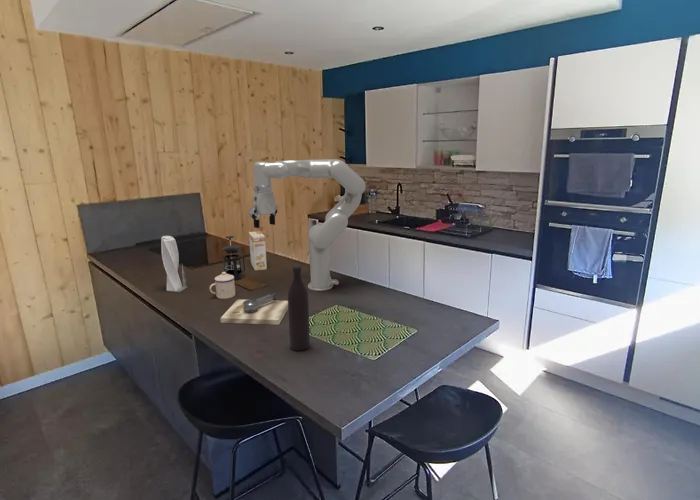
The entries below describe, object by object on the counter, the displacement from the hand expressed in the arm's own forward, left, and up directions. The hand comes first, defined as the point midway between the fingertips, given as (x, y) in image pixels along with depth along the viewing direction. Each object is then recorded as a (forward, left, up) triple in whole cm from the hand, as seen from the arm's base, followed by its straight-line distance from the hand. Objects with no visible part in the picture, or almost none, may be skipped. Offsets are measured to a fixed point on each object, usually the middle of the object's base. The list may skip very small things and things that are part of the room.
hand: (264, 226), depth 192 cm
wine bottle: (-27, +54, -33) cm, 68 cm away
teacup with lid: (+19, +9, -33) cm, 39 cm away
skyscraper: (+46, +2, -33) cm, 57 cm away
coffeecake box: (+16, -38, -33) cm, 53 cm away
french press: (+23, -17, -33) cm, 44 cm away
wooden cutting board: (-3, +27, -32) cm, 42 cm away
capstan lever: (-3, +26, -29) cm, 39 cm away
